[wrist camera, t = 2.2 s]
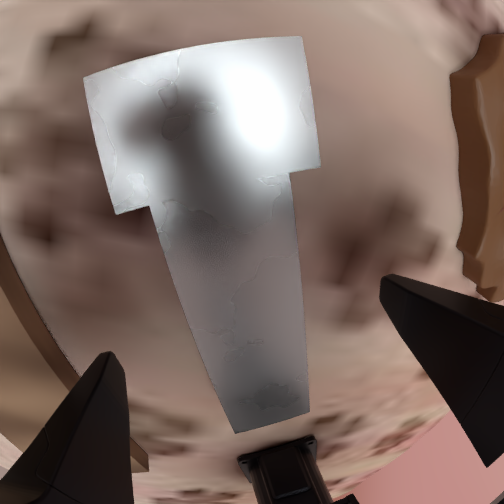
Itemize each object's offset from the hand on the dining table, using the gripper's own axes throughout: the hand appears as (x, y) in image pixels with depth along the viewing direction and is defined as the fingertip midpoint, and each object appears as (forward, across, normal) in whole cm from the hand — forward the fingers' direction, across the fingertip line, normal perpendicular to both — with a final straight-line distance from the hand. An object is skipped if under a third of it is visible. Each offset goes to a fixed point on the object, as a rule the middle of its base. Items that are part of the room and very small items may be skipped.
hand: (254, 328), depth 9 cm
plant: (+5, -22, -2) cm, 23 cm away
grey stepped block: (+4, 0, 0) cm, 4 cm away
